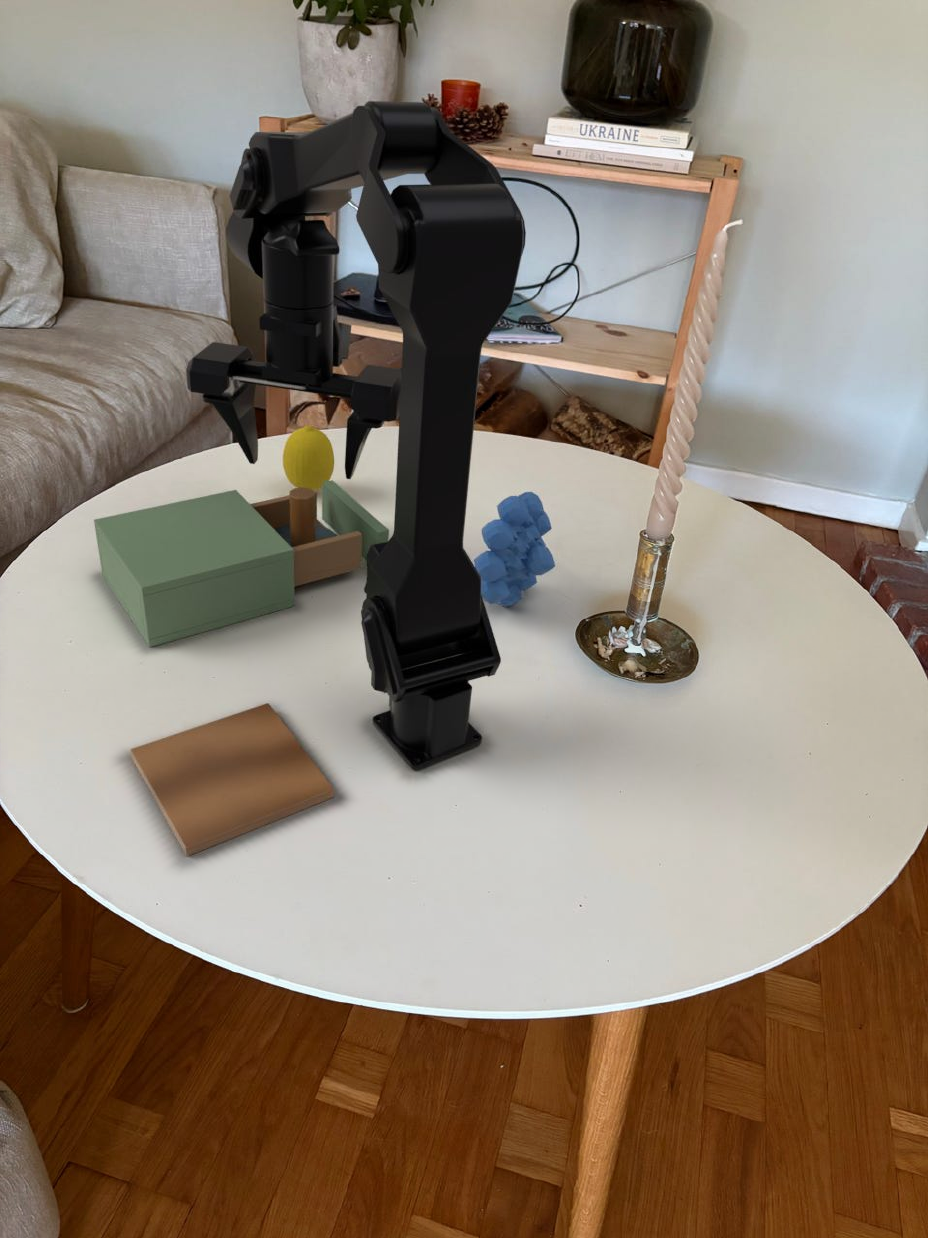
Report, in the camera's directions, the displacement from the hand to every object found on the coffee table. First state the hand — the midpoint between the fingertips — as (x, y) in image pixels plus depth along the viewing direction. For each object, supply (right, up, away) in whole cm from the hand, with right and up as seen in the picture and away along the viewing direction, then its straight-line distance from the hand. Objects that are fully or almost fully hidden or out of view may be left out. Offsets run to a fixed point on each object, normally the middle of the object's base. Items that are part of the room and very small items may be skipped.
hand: (301, 469), depth 88 cm
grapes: (+20, -13, +3) cm, 24 cm away
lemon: (-2, 0, +18) cm, 18 cm away
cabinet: (-10, -11, 0) cm, 15 cm away
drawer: (0, -8, +6) cm, 9 cm away
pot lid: (-1, -7, +5) cm, 8 cm away
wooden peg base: (-2, -25, -19) cm, 31 cm away
